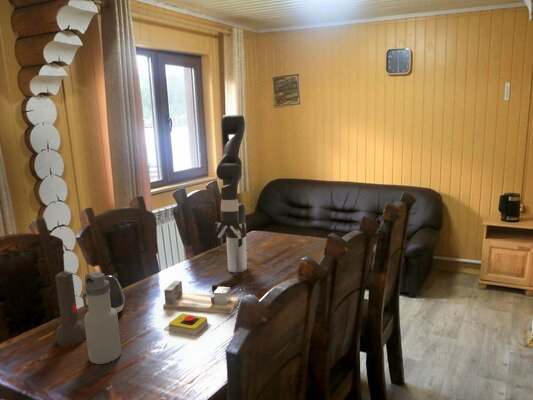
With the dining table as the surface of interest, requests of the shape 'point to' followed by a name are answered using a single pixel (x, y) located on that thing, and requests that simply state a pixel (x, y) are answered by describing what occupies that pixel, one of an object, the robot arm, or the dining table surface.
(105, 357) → the water bottle
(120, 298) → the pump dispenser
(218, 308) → the base
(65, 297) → the flashlight
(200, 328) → the emergency button
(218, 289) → the light grey cube
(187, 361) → the dining table surface
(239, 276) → the hand tool
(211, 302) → the drag pointer
